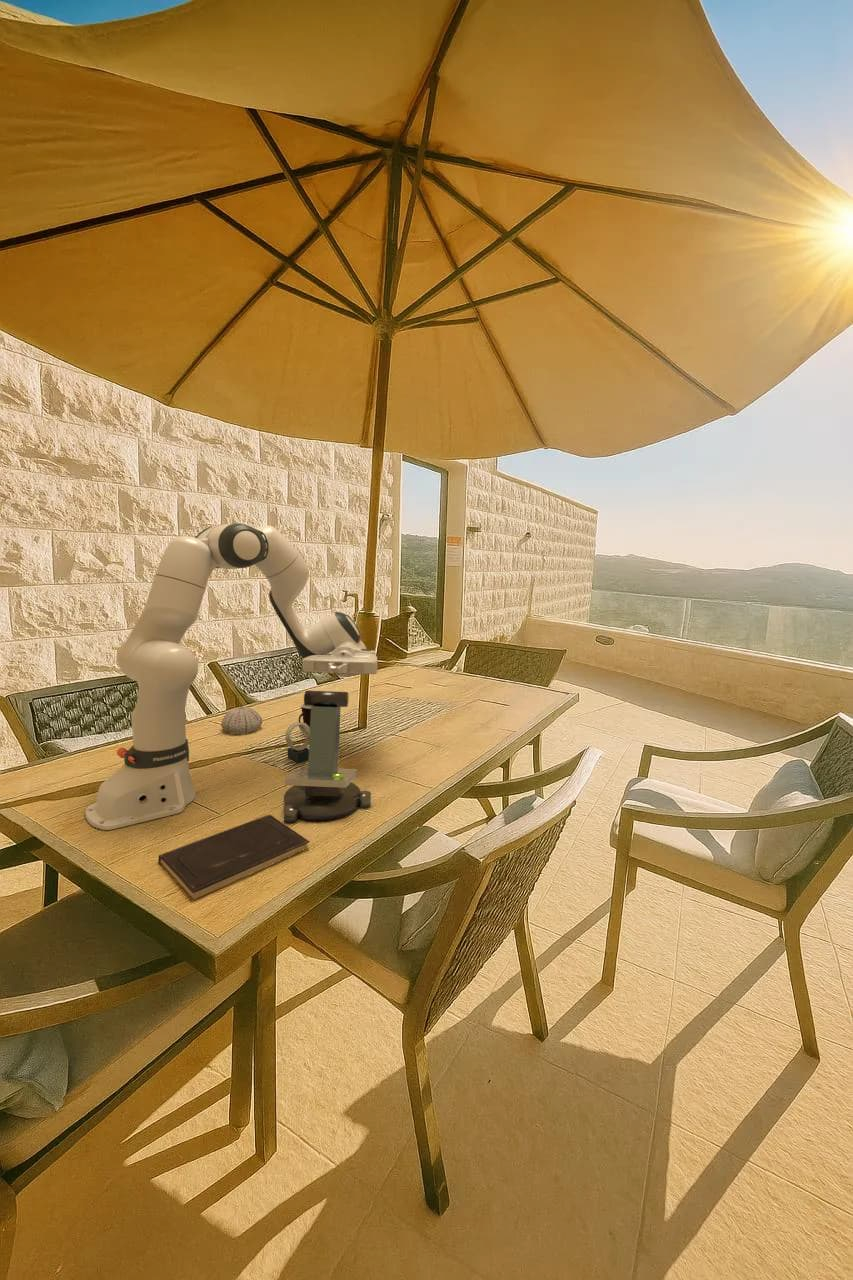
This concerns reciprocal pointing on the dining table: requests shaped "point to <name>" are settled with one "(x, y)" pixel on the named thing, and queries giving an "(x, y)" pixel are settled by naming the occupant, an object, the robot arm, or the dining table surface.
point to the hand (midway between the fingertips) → (334, 670)
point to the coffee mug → (305, 714)
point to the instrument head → (323, 743)
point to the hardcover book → (231, 854)
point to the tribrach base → (323, 803)
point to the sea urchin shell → (241, 720)
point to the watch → (300, 751)
